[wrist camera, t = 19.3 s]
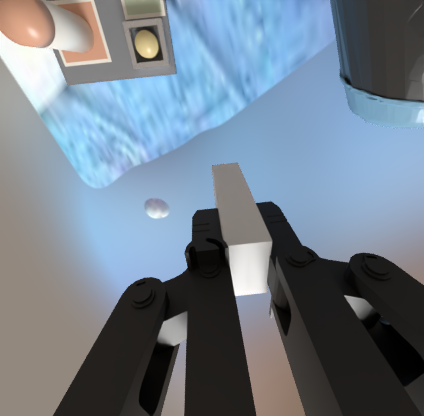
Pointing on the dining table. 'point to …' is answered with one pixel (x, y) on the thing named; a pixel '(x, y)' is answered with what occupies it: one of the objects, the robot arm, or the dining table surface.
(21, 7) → the ball
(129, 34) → the button housing
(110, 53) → the grey flat square panel
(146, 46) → the button
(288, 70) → the dining table surface
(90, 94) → the dining table surface
